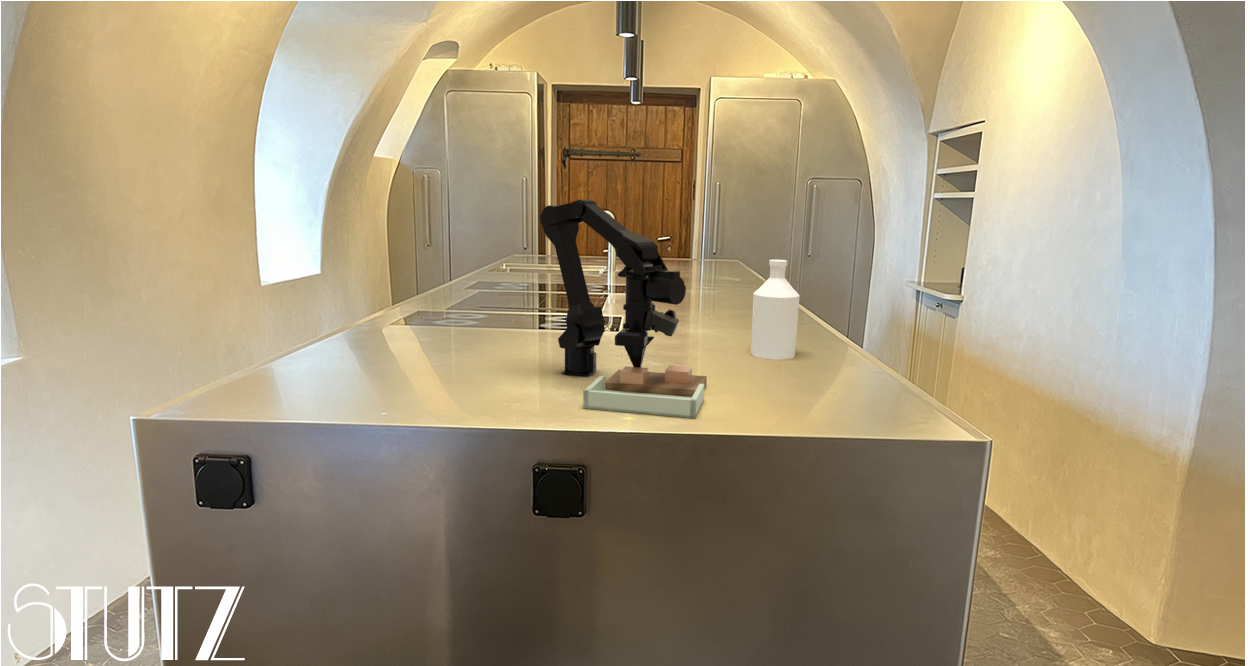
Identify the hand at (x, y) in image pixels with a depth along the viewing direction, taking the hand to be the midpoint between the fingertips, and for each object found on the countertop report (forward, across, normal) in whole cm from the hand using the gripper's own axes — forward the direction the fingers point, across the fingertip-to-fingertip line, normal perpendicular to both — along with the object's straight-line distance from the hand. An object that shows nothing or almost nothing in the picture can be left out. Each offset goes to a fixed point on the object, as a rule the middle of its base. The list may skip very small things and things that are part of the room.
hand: (637, 370), depth 157 cm
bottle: (+4, +41, -28) cm, 50 cm away
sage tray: (+4, -13, -4) cm, 14 cm away
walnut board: (+4, 0, -4) cm, 6 cm away
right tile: (+2, +1, -9) cm, 9 cm away
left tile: (+2, -3, 0) cm, 4 cm away
